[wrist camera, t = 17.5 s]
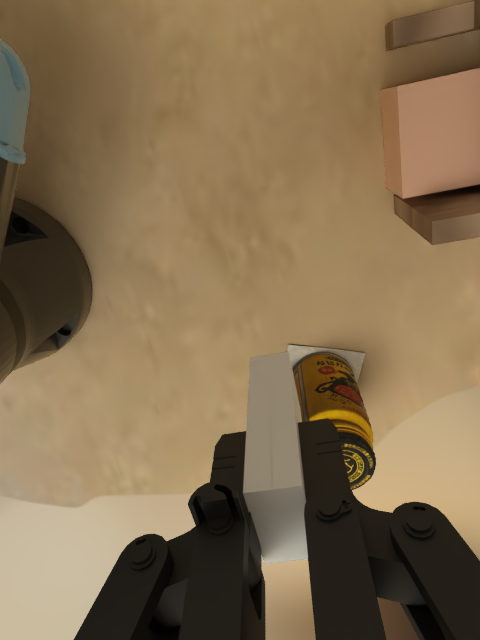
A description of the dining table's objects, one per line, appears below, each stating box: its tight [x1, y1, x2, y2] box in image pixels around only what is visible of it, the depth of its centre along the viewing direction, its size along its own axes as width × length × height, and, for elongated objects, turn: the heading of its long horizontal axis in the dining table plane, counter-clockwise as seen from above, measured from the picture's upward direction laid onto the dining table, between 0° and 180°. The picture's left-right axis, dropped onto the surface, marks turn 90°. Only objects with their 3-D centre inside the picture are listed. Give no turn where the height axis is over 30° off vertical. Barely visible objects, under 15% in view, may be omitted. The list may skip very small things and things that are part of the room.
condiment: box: [287, 345, 376, 490], centre depth 38 cm, size 7×8×12 cm
